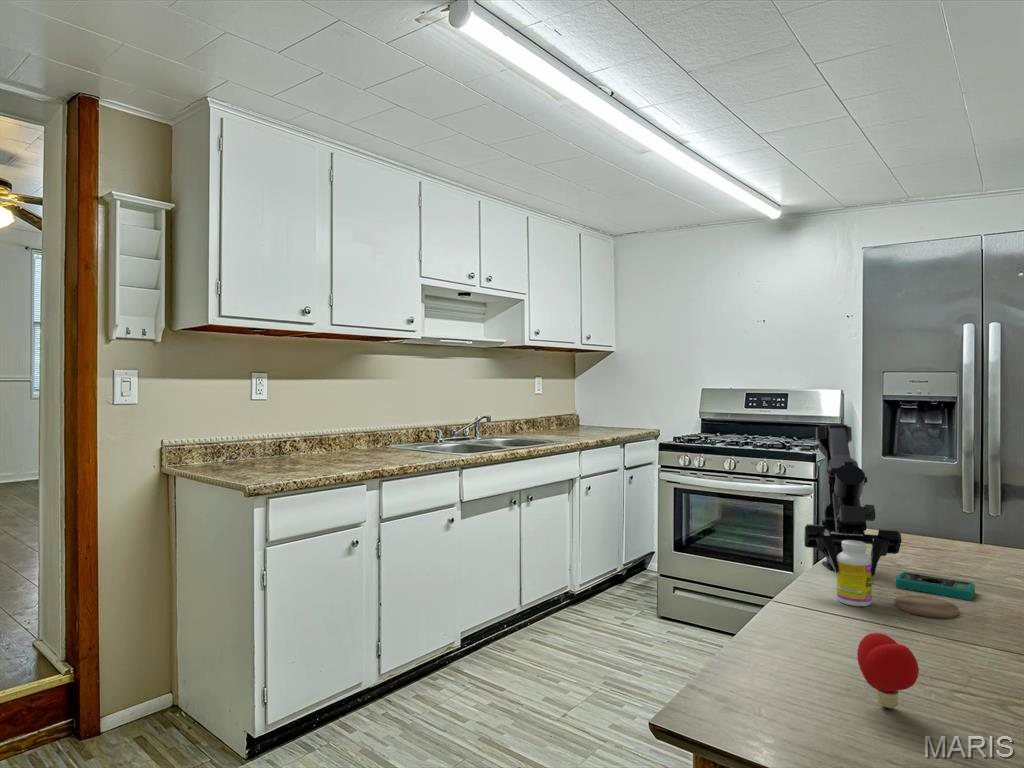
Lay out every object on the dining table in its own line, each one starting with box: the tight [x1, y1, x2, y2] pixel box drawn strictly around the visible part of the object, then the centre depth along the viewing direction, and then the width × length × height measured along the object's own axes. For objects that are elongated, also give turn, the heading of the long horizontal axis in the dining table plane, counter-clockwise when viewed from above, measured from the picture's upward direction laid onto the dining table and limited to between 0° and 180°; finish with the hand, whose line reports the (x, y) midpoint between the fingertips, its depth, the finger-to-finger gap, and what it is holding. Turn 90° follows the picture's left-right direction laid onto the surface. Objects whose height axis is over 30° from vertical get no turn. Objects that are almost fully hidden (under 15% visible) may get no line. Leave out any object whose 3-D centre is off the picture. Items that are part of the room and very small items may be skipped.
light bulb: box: [856, 632, 920, 711], centre depth 94 cm, size 9×7×10 cm
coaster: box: [894, 594, 959, 619], centre depth 135 cm, size 11×11×1 cm
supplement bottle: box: [836, 540, 873, 607], centre depth 139 cm, size 7×7×13 cm
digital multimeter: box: [895, 571, 976, 602], centre depth 147 cm, size 7×15×3 cm, turn 49°
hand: (854, 573), depth 138 cm, fingers closed on supplement bottle, 7 cm apart
